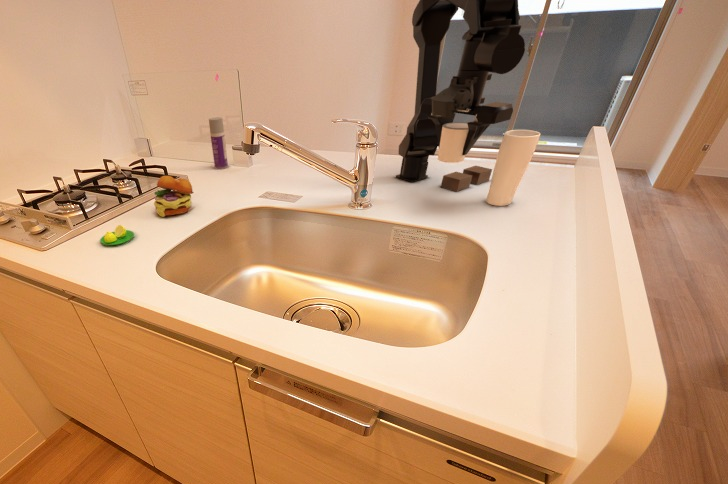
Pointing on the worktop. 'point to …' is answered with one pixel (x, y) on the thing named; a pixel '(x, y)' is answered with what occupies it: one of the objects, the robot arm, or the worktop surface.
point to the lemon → (117, 236)
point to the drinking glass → (511, 165)
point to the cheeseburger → (173, 196)
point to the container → (218, 142)
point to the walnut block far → (478, 174)
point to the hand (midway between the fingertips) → (452, 152)
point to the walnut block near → (456, 181)
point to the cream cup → (452, 142)
